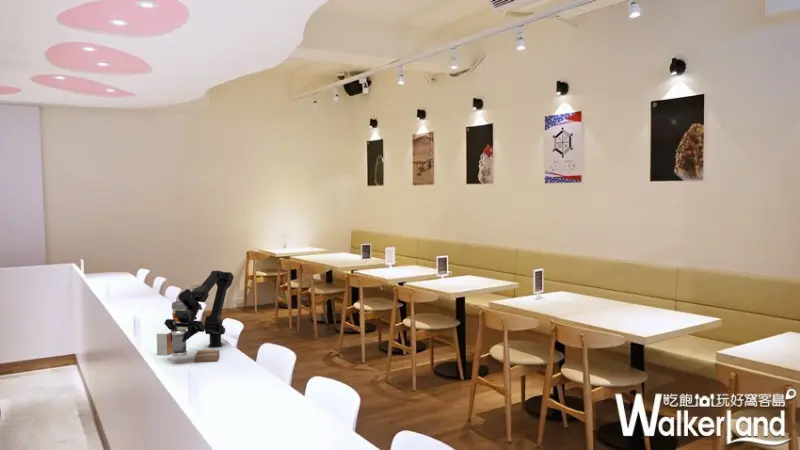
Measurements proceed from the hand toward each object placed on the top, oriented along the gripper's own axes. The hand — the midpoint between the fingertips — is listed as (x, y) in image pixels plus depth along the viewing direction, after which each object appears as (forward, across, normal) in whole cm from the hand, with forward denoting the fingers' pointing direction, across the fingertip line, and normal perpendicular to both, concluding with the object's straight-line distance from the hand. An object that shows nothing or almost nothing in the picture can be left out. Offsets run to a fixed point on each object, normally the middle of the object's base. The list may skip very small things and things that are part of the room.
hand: (177, 341), depth 272 cm
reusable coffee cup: (-37, -40, +52) cm, 75 cm away
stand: (+1, +10, +14) cm, 17 cm away
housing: (+4, 0, +6) cm, 7 cm away
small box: (-2, -16, +17) cm, 24 cm away
